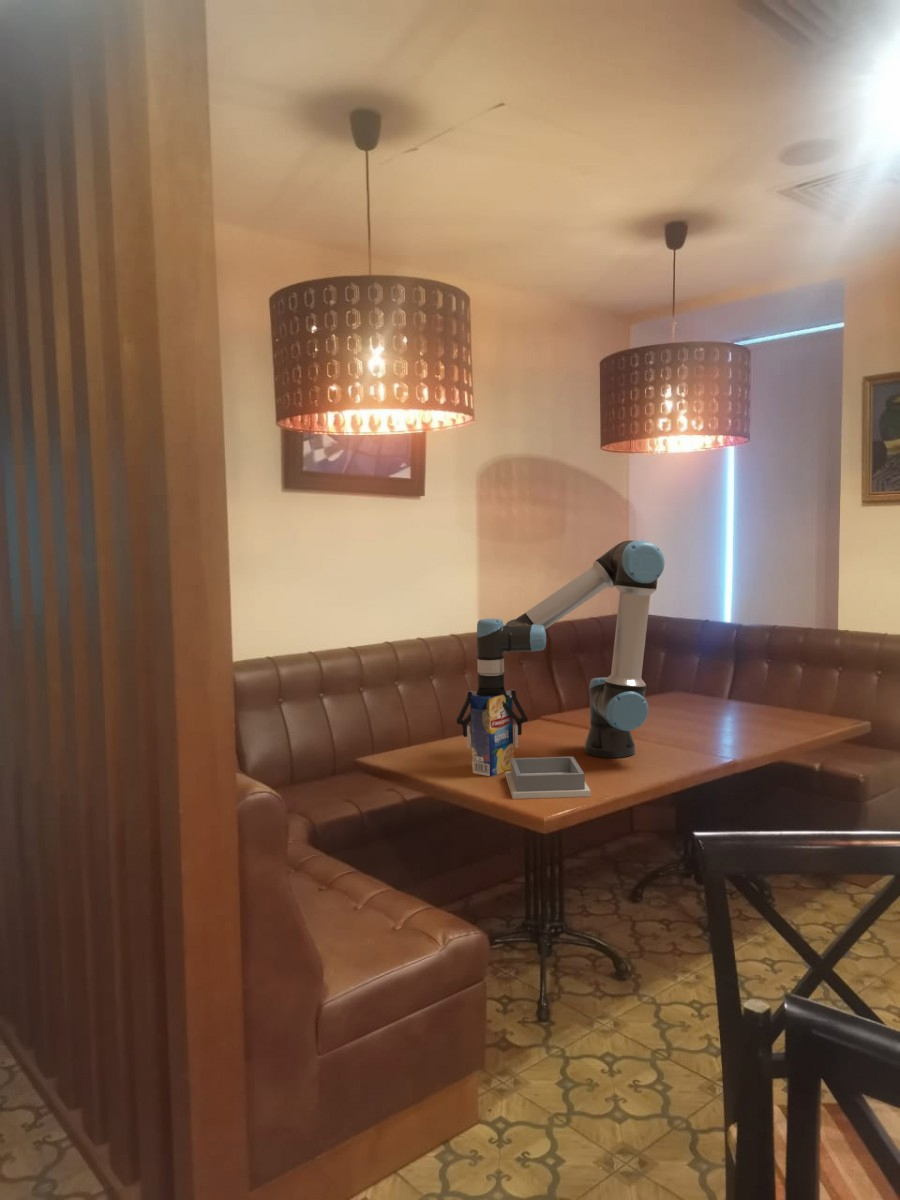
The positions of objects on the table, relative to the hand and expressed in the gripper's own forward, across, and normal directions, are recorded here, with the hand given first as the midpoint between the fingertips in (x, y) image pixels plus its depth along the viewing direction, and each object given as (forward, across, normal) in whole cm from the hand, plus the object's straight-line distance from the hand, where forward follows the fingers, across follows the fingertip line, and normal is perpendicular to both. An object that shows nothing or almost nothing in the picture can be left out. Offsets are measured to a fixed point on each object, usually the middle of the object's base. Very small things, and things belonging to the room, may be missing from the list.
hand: (492, 747), depth 243 cm
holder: (+7, -13, +17) cm, 22 cm away
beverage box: (+7, 0, 0) cm, 7 cm away
